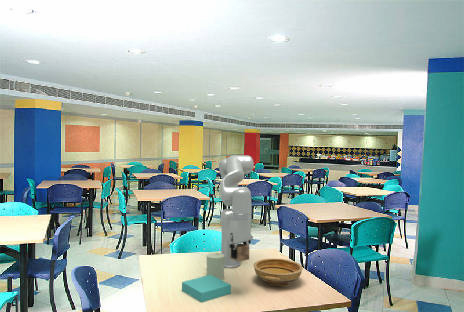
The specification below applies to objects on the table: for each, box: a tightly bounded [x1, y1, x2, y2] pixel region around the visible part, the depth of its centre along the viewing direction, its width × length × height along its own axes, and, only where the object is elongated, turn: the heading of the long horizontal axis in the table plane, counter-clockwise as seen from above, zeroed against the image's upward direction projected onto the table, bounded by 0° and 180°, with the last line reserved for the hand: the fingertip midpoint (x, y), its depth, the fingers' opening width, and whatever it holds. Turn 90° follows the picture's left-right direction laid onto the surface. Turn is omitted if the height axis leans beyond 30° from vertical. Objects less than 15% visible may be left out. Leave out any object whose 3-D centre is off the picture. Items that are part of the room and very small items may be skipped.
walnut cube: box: [230, 242, 250, 262], centre depth 163 cm, size 6×6×6 cm
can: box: [205, 252, 225, 281], centre depth 184 cm, size 9×9×12 cm
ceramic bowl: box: [253, 258, 304, 287], centre depth 180 cm, size 30×24×8 cm
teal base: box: [181, 275, 232, 303], centre depth 166 cm, size 16×16×4 cm
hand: (239, 256), depth 163 cm, fingers closed on walnut cube, 6 cm apart
